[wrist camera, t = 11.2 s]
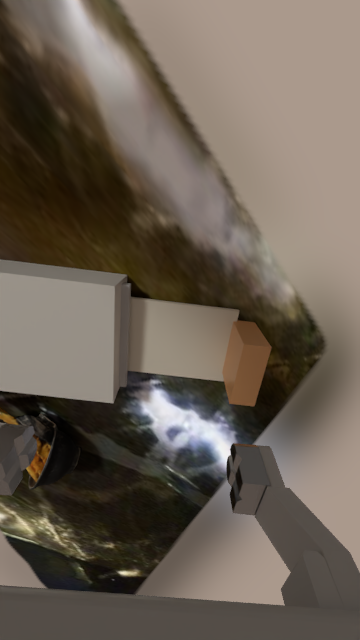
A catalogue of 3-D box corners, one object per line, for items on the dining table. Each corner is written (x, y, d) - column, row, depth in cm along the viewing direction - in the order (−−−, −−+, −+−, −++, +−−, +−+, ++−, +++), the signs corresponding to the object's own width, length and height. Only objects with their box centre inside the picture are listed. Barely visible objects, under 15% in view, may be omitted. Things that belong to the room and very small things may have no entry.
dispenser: (-12, 258, 31) (-55, 265, 26) (134, 275, 32) (124, 287, 26) (7, 363, 37) (-24, 388, 32) (130, 377, 38) (120, 404, 32)
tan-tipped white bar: (85, 291, 31) (59, 309, 25) (257, 311, 32) (275, 335, 25) (88, 363, 35) (65, 395, 29) (239, 380, 36) (251, 416, 29)
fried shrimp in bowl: (59, 492, 42) (-76, 484, 33) (77, 424, 48) (-30, 403, 40) (80, 490, 36) (-77, 480, 27) (97, 414, 43) (-24, 386, 34)
